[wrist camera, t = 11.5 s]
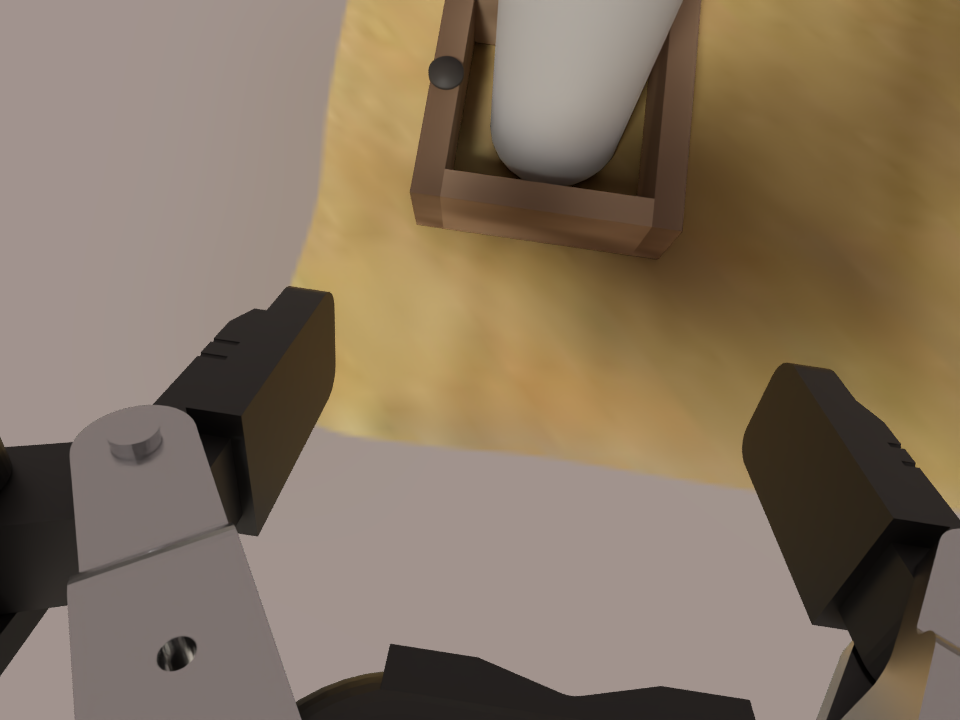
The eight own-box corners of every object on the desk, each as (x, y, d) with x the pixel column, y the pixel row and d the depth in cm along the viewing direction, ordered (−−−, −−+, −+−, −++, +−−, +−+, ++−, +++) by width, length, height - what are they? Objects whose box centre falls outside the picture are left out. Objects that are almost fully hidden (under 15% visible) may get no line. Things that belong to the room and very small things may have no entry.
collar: (676, 48, 23) (702, -6, 21) (657, 259, 21) (684, 229, 19) (451, 16, 23) (449, -41, 21) (414, 224, 21) (406, 189, 19)
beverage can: (489, 80, 23) (513, -346, 11) (612, 83, 23) (767, -337, 11) (489, 194, 22) (514, -137, 10) (617, 197, 22) (791, -130, 10)
